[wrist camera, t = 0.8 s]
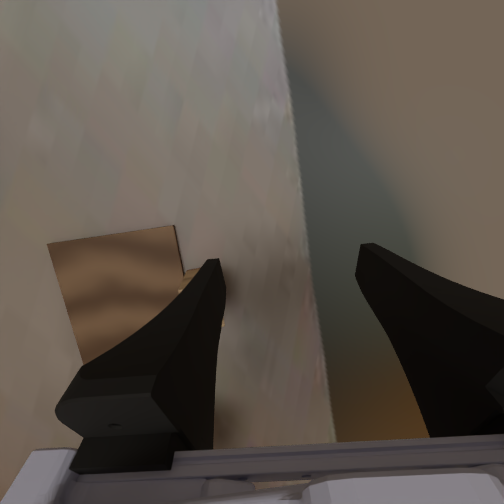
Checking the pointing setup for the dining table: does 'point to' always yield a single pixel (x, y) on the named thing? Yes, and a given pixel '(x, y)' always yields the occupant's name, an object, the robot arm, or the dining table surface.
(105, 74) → the dining table surface
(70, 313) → the walnut board
